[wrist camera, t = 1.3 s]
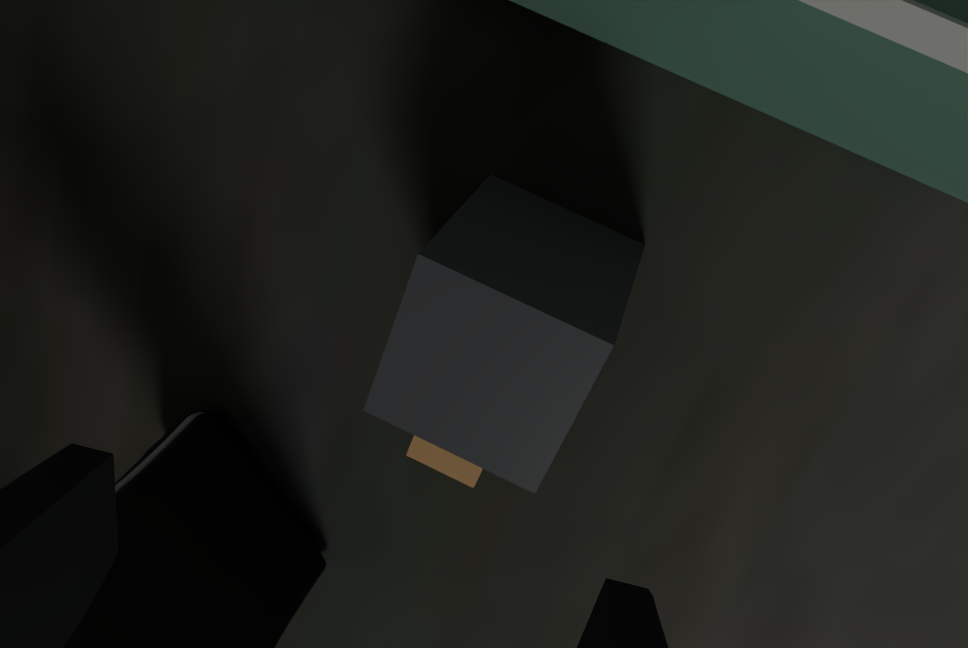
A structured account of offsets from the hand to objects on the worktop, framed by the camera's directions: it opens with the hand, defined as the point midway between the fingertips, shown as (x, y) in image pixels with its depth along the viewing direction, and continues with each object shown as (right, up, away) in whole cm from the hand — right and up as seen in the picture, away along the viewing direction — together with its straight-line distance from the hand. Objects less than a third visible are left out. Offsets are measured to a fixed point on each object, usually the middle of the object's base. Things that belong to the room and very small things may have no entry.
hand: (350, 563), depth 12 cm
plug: (+3, +5, +9) cm, 10 cm away
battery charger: (-6, -2, +16) cm, 17 cm away
